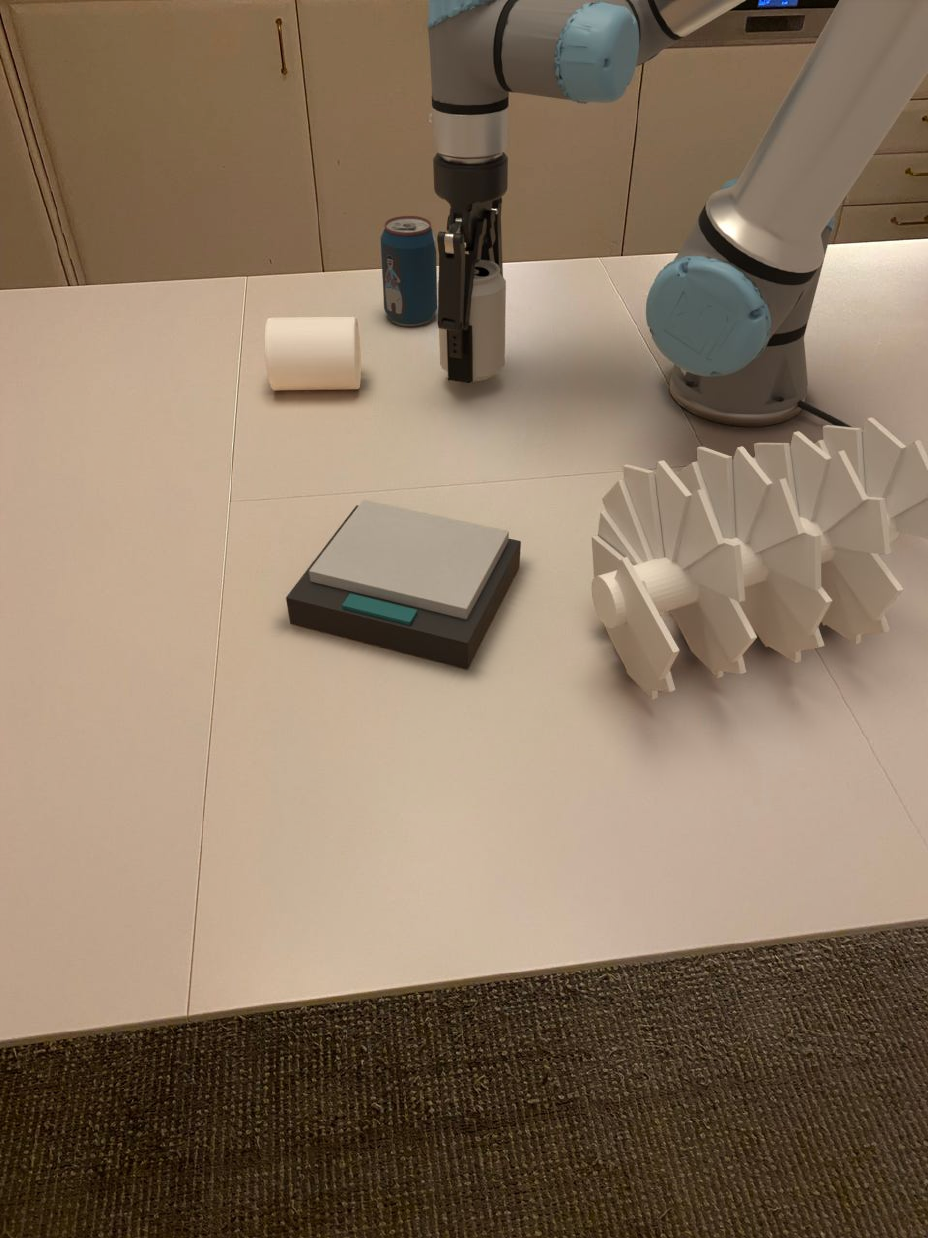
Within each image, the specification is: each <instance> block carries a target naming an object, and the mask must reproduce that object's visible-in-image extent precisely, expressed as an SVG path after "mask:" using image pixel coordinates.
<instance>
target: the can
mask: <svg viewBox="0 0 928 1238" xmlns="http://www.w3.org/2000/svg"><path fill="white" fill-rule="evenodd" d="M475 267H482V268H485V269H487V270H488V271H489V273H490V274H489V275H488V276H485V277H481V276H477V275H475V274H479V271H478V270H476V269H475V272H474V280H473V290H472V296H471V308H470V317H469V325H470V326H472V346H473V381H472V382H481V381H485V380H488V379H491V378H493V377H494V376H496V374H498V372H500V371H502V369H503V368H505V364H506V363H505V362H506V309H507V306H506V305H507V304H506V302H507V301H506V300H507V298H506V297H507V280H506V279H505V277H504V275H503V276H502V275H501V274H500V267H499V266H498V265H497V264H496V263H494V262H492V261H488V260H480V261H479V262H478V263H476V264H475ZM438 288H439V279H437V289H438ZM438 339H439V340H438V341H439V342H438V344H439V364H440V365H439V366H441V367H440V368H441V369H442V370H443V371H445V372H446V373H447V374H448V360H447V330H446V329H439V328H438Z"/></svg>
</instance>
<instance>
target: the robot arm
mask: <svg viewBox="0 0 928 1238" xmlns="http://www.w3.org/2000/svg"><path fill="white" fill-rule="evenodd" d="M745 1H746V0H428V15H427V17H428V18H427V19H428V20H427V24H426V29H427V30H428V31H427V32H428V45H429V62H430V63H429V64H430V80H431V81H430V82H431V112H430V113H429V114H428V117H427V119H428V120H427V121H428V122H429V123H430V124H432V147H433V150H434V151H435V152H436V154H435V156H434V157H433V158H432V165H433V166H432V167H433V170H432V171H433V190H434V193H435V195H436V196H437V197H438V198H440V199H442V200H444V201H446V202H447V203H448V205H449V207H450V208H449V214H448V217H447V222H446V231H438V233H437V236H436V243H437V250H438V280H439V288H438V287H437V320H436V321H437V328H438V330H439V329H446V330H447V360H448V373H447V381H449V382H450V381H451V382H457V383H462V384H472V383H473V382H474V381H473V346H472V326H470V325H469V317H470V308H471V296H472V290H473V280H474V272H475V269H476V270H478V271H479V274H475V275H477V276H481V277H485V276H488V275H489V274H490V273H489V271H488V270H487V269H485V268H482V267H475V264H476V263H478V262H479V261H480V260H488V261H492V262H494V263H496V264H497V265H498V266H499V267H500V274H501V275H502V276H503V277H504V266H503V265H504V264H503V244H502V243H503V241H502V240H503V238H502V237H503V236H502V205H503V197H504V195H505V194H506V193H507V192H508V187H509V186H508V185H509V184H508V178H509V177H508V176H509V175H508V173H509V157H508V156H507V154H506V153H505V152H506V151H507V149H509V145H510V144H509V142H510V141H509V140H510V139H509V137H510V133H509V132H510V103H509V101H510V100H509V99H510V94H509V93H515V94H524V95H531V96H538V97H545V98H552V99H559V100H566V101H572V102H575V103H577V104H583V105H585V104H588V103H599V104H600V103H601V104H611V103H615V102H616V101H618V100H619V99H621V98H622V97H623V96H624V95H625V93H626V91H627V88H628V86H629V85H631V83H632V80H633V78H634V75H635V73H636V68H637V67H639V66H641V65H643V64H645V63H647V62H649V61H651V60H653V59H654V58H655V57H657V56H658V55H659V54H660V53H661V52H662V51H664V50H665V49H667V48H669V47H671V46H672V45H674V44H676V43H677V42H679V41H680V40H682V39H683V38H685V37H687V36H688V35H690V34H691V33H693V32H695V31H697V30H699V29H700V28H701V27H703V26H706V24H708V23H710V22H712V21H713V20H715V19H717V18H719V17H720V16H722V15H723V14H725V13H727V12H728V11H730V10H732V9H734V8H736V7H737V6H739V5H740V4H742V3H744V2H745ZM927 75H928V0H838V2H837V4H836V6H835V7H834V9H833V11H832V13H831V15H830V16H829V18H828V20H827V21H826V24H825V25H824V27H823V29H822V30H821V32H820V34H819V36H818V37H817V40H816V41H815V43H814V44H813V47H812V49H811V50H810V52H809V53H808V56H807V57H806V59H805V61H804V62H803V64H802V66H801V67H800V70H799V71H798V73H797V75H796V77H795V79H794V80H793V82H792V84H791V86H790V87H789V89H788V91H787V92H786V95H785V96H784V97H783V100H782V102H781V103H780V105H779V106H778V108H777V110H776V112H775V114H774V116H773V117H772V119H771V121H770V122H769V125H768V126H767V128H766V130H765V132H764V134H763V136H762V137H761V138H760V141H759V143H758V144H757V146H756V148H755V149H754V151H753V153H752V155H751V157H750V159H749V160H748V162H747V163H746V165H745V167H744V169H743V171H742V173H741V174H740V176H739V177H735V178H733V179H730V180H727V181H726V182H724V183H723V184H722V185H721V188H720V189H719V190H716V191H714V192H712V194H711V195H710V196H709V197H708V199H707V200H706V202H705V204H704V206H703V207H702V210H701V211H700V213H699V215H698V216H697V218H696V220H695V222H694V224H693V225H692V227H691V229H690V231H689V233H688V235H687V236H686V239H685V240H684V242H683V243H682V246H681V247H680V249H679V251H678V253H677V254H676V255H675V257H674V259H673V260H672V261H670V262H669V263H667V264H666V265H664V266H663V268H662V269H661V270H660V271H659V272H658V274H657V275H656V277H655V279H654V281H653V283H652V285H651V286H650V289H649V291H648V294H647V297H646V301H645V319H646V320H645V321H646V325H647V327H648V328H649V332H650V334H651V339H652V341H653V343H654V344H655V347H656V348H657V349H658V350H659V352H660V353H661V354H662V355H663V356H664V357H665V358H666V359H667V360H668V361H670V362H671V363H672V364H673V367H672V369H671V373H670V378H669V380H670V381H669V392H670V394H671V396H672V398H673V399H674V400H675V402H676V403H677V404H679V405H680V406H681V407H682V408H683V409H684V410H687V411H688V412H689V413H692V414H693V415H695V416H698V417H700V418H703V419H706V420H709V421H711V422H716V423H720V424H724V425H729V426H736V427H737V426H738V427H762V426H763V427H765V426H772V425H775V424H779V423H783V422H786V421H788V420H791V419H792V418H794V417H796V416H797V415H798V414H799V413H800V412H801V411H802V410H803V411H806V412H807V413H810V414H811V415H813V416H815V417H817V418H819V419H821V420H824V421H825V422H828V423H829V424H831V425H832V426H842V427H852V428H854V427H853V426H851V425H849V424H848V423H846V422H845V421H842V420H841V419H838V418H836V417H835V416H832V415H831V414H829V413H827V412H825V411H823V410H821V409H819V408H817V407H816V406H813V405H810V404H809V403H807V402H805V401H806V398H807V394H808V385H809V381H808V371H807V369H808V368H807V359H806V348H805V347H806V346H805V345H806V344H805V334H806V330H807V326H808V323H809V321H810V315H811V311H812V308H813V304H814V300H815V296H816V292H817V289H818V284H819V280H820V277H821V274H822V273H821V272H822V269H823V266H824V261H825V257H826V254H827V250H828V246H829V243H830V238H831V234H832V232H833V231H834V230H835V227H836V225H835V219H836V212H837V210H838V208H839V207H840V206H841V204H842V203H843V201H844V200H845V198H846V197H847V195H848V194H849V192H850V191H851V189H852V188H853V186H854V185H855V183H856V182H857V180H858V179H859V177H860V176H861V174H862V173H863V171H864V170H865V168H866V167H867V165H868V163H869V162H870V161H871V159H872V157H873V156H874V155H875V153H876V151H877V150H878V149H879V147H880V146H881V144H882V142H883V141H884V140H885V138H886V137H887V135H888V134H889V132H890V130H891V129H892V127H893V126H894V124H895V123H896V121H897V120H898V118H899V117H900V116H901V114H902V112H903V111H904V109H905V108H906V106H907V105H908V104H909V102H910V100H911V99H912V97H913V96H914V95H915V93H916V91H917V90H918V89H919V87H920V86H921V84H922V82H923V81H924V80H925V78H926V76H927ZM466 252H467V253H466Z"/></svg>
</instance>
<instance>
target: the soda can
mask: <svg viewBox="0 0 928 1238" xmlns="http://www.w3.org/2000/svg"><path fill="white" fill-rule="evenodd" d="M380 256H381V275H382V277H381V278H382V294H383V295H382V296H383V309H384V312H385V314H386V315H387V316H388V318H389V320H390V322H392V323H394V324H396V325H397V326H402V327H419V326H423V325H425V324H428V323H430V322H431V321H432V319H433V318H434V316H435V314H436V313H437V311H438V287H437V284H438V270H437V267H438V265H437V264H438V263H437V261H438V260H437V236H436V234H435V232H434V230H433V228H432V223H431V221H430V220H429V219H427V218H425V217H422V216H418V215H400V216H394V217H391V218H389V219H388V220H386V221H385V223H384V229H383V231H382V234H381V236H380Z"/></svg>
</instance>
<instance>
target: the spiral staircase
mask: <svg viewBox="0 0 928 1238" xmlns="http://www.w3.org/2000/svg"><path fill="white" fill-rule="evenodd" d="M852 427H853V426H851V427H842V426H835V425H832V424H831V425H829V424H825V425H823V426H822V437H823V439H818V440H817V441H816V442H815V443H814V442H813V441H811V440H810V439H809V438H808V437H807V436H806V435H805V434H803V433H802V432H800V431H799V430H798V431H793V433H792V436H791V437H792V438H791V442H790V443H789V442H757V443H753V450H754V457H753V456H751V454H750V453H749V452H748V451H747V449H746V448H745V447H744V446H743V445H742V446H738V447H736V450H735V453H734V456H731V455H728V454H725V453H724V452H720V451H716V450H714V449H711V448H708V447H705V446H704V445H703V446H698V447H696V454H697V455H696V456H697V458H696V459H697V460H696V461H693V462H690V463H689V464H688V465H687V466H684V468H682V469H681V470H679V471H678V472H676V473H675V471H673V469H672V468H671V466H669V465H668V463H667V462H666V461H665V460H664V459H662V460H659V461H657V464H656V469H655V471H653V470H650V469H646V468H642V467H639V466H635V465H631V464H624V465H622V470H623V471H622V472H623V479H620V480H617V482H616V483H615V484H614V485H613V486H612V487H610V489H609V491H608V492H607V493H606V494H605V495H604V496H603V497H602V498H601V500H602V503H603V506H604V508H605V510H603V511H600V515H599V520H598V521H599V522H598V529H597V534H595V535H591V551H592V565H593V566H592V567H593V568H592V569H593V578H592V580H591V589H590V590H591V597H592V602H593V605H594V606H593V607H594V609H595V611H596V613H597V616H598V619H600V621H601V622H602V624H603V625H604V626H605V630H606V633H607V635H608V637H609V639H610V641H611V643H612V644H613V646H614V649H615V650H616V652H617V654H618V656H619V658H620V660H621V662H622V664H623V666H624V667H625V669H626V674H627V675H628V676H629V677H630V678H631V679H632V680H633V681H634V683H636V684H637V685H638V686H639V687H640V688H641V690H642V691H643V692H644V693H646V695H648V697H649V698H650V699H651V700H654V699H657V698H659V692H665V693H670V692H671V693H672V692H674V691H676V686H675V684H674V679H673V676H672V672H671V668H672V666H673V664H674V662H675V660H676V658H677V657H678V655H679V653H680V648H679V647H678V644H677V643H676V641H675V640H674V638H673V636H672V634H671V632H670V630H669V628H668V627H667V625H666V623H665V622H664V619H663V618H662V616H661V614H662V613H666V612H669V611H670V613H671V614H672V617H673V618H674V620H675V622H676V624H677V626H678V628H679V630H680V632H681V634H682V636H683V638H684V640H685V641H686V643H687V645H688V648H689V650H690V652H691V653H692V654H693V655H695V657H697V658H698V660H699V661H700V662H701V663H702V664H704V666H705V667H706V668H707V669H708V670H709V671H710V672H711V673H712V674H713V675H714V676H715V677H716V678H717V679H720V678H723V677H724V676H725V673H731V674H735V675H736V674H737V675H744V674H746V673H747V667H746V665H745V661H744V656H743V655H744V654H745V653H746V652H747V650H748V649H749V648H750V646H752V644H753V643H754V641H756V640H757V638H759V639H760V641H761V643H762V644H763V645H764V647H765V648H768V647H769V648H771V649H773V650H774V651H776V652H777V653H779V654H781V655H782V656H784V657H785V658H786V659H789V660H790V661H791V662H793V663H794V664H798V663H801V662H802V651H807V650H813V649H818V648H821V647H825V642H824V639H823V637H822V634H821V631H820V625H822V626H823V627H824V626H827V627H829V628H830V629H832V630H834V631H835V632H836V633H838V634H839V635H841V636H842V637H844V638H845V639H847V640H849V642H851V643H853V644H854V645H858V644H861V643H862V636H863V635H869V634H870V635H871V634H883V633H884V634H885V633H888V632H890V631H891V630H890V627H889V626H890V625H889V623H888V620H887V616H886V613H887V612H888V610H889V609H890V608H891V607H892V606H893V604H894V603H895V601H896V600H897V599H898V598H899V597H900V596H901V594H902V593H903V591H905V589H904V587H902V585H901V584H900V582H899V581H898V580H897V578H896V577H895V576H894V574H893V573H892V572H891V570H890V569H889V567H888V566H887V565H886V564H885V562H884V561H883V559H882V558H881V556H880V555H883V556H888V555H890V554H892V549H891V543H892V542H894V541H895V540H897V538H898V537H899V534H900V533H901V534H906V535H910V536H914V537H918V538H924V539H927V540H928V453H927V452H926V449H925V448H924V446H923V443H922V441H921V439H919V440H914V441H913V442H911V443H910V444H908V445H907V446H906V445H905V444H904V443H903V442H902V441H900V440H899V439H898V438H897V437H896V436H895V435H894V434H893V433H891V432H890V431H889V430H888V429H887V428H886V427H884V426H883V425H882V424H881V423H880V422H878V421H877V420H876V419H875V418H874V417H873V416H872V417H867V418H866V420H865V423H864V426H863V429H862V428H861V427H853V428H852Z"/></svg>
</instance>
